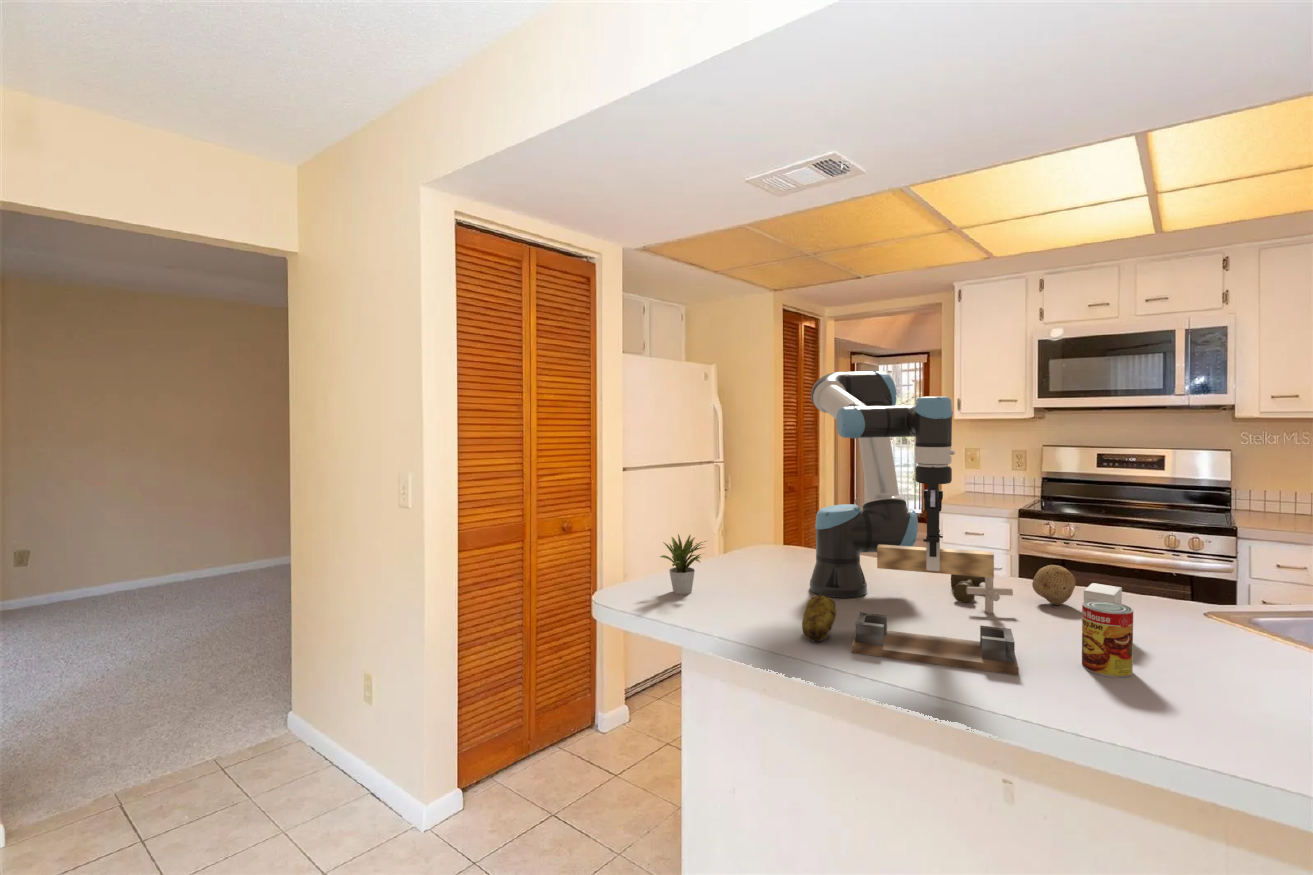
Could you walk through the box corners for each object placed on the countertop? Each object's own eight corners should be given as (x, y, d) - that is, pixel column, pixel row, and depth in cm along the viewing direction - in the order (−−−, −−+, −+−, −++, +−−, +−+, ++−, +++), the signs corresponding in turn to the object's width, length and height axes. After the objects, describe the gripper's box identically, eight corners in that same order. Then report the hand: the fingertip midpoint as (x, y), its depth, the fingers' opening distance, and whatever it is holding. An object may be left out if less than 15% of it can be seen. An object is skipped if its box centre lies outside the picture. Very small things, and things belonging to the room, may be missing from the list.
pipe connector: (1018, 619, 150) (1018, 577, 149) (972, 617, 152) (972, 575, 151) (1004, 606, 160) (1004, 566, 159) (961, 604, 162) (961, 565, 161)
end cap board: (851, 652, 131) (851, 626, 131) (859, 633, 142) (859, 609, 142) (1018, 675, 119) (1018, 646, 119) (1012, 652, 130) (1013, 626, 130)
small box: (1091, 628, 143) (1091, 582, 142) (1121, 634, 139) (1122, 586, 138) (1082, 638, 137) (1082, 589, 137) (1114, 644, 133) (1114, 594, 133)
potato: (787, 639, 140) (787, 603, 140) (813, 623, 150) (813, 589, 149) (823, 647, 135) (822, 610, 134) (848, 630, 145) (847, 595, 144)
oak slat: (877, 568, 148) (877, 546, 148) (878, 565, 151) (878, 544, 151) (993, 577, 138) (993, 555, 138) (993, 574, 141) (993, 551, 141)
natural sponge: (1042, 609, 156) (1042, 569, 156) (1025, 599, 165) (1026, 560, 165) (1082, 610, 155) (1082, 569, 155) (1063, 599, 164) (1063, 561, 164)
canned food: (1072, 660, 125) (1073, 600, 125) (1113, 660, 125) (1114, 599, 124) (1099, 677, 117) (1099, 613, 117) (1143, 677, 117) (1143, 612, 116)
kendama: (942, 602, 166) (955, 582, 183) (983, 609, 161) (992, 587, 177) (943, 579, 165) (955, 561, 182) (984, 585, 160) (993, 566, 177)
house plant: (702, 602, 168) (701, 540, 167) (651, 599, 172) (650, 538, 171) (713, 587, 181) (712, 530, 181) (666, 585, 185) (665, 529, 185)
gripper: (951, 469, 135) (951, 579, 136) (951, 462, 149) (951, 561, 150) (913, 468, 138) (913, 575, 139) (917, 461, 152) (917, 559, 154)
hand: (933, 568), depth 145 cm, fingers closed on oak slat, 3 cm apart
